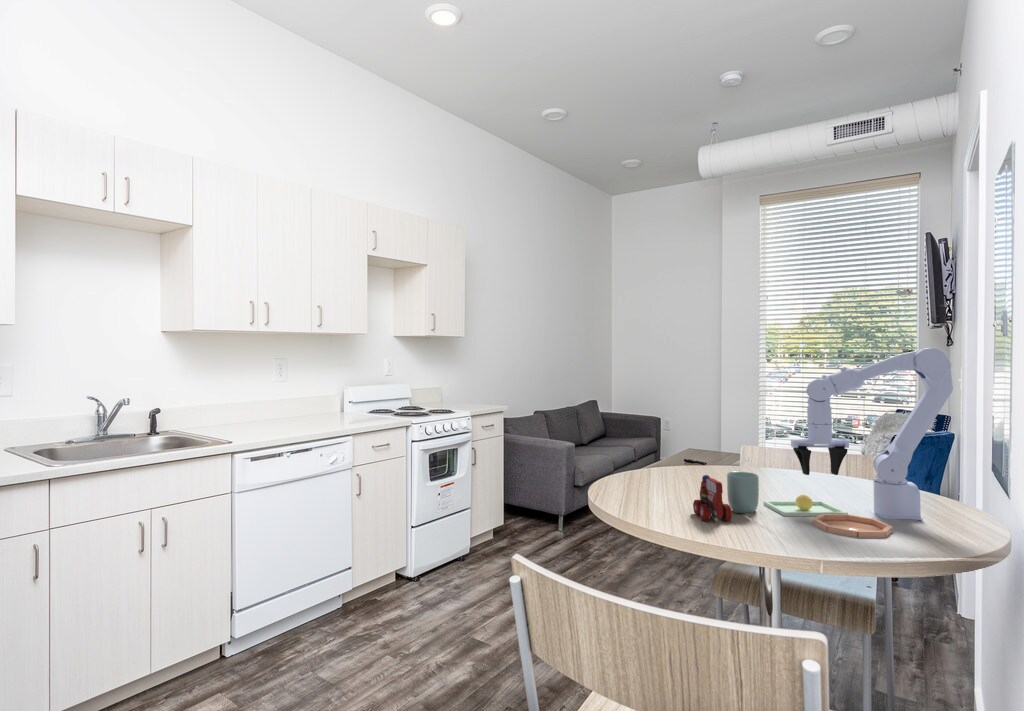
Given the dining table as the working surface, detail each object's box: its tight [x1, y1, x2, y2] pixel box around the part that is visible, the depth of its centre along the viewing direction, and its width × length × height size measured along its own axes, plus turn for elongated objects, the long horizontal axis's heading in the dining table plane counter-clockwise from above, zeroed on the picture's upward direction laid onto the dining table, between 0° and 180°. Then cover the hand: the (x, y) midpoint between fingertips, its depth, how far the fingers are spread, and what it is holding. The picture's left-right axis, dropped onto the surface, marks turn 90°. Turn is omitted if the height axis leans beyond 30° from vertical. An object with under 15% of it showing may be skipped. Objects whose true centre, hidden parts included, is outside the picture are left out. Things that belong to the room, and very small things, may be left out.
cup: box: [726, 471, 760, 515], centre depth 146 cm, size 8×8×10 cm
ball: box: [795, 494, 813, 510], centre depth 146 cm, size 4×4×4 cm
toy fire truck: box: [692, 474, 733, 522], centre depth 141 cm, size 7×12×10 cm, turn 179°
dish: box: [812, 513, 894, 539], centre depth 130 cm, size 15×15×2 cm
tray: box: [763, 500, 849, 517], centre depth 146 cm, size 16×12×2 cm
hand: (820, 474), depth 149 cm, fingers open, 7 cm apart
